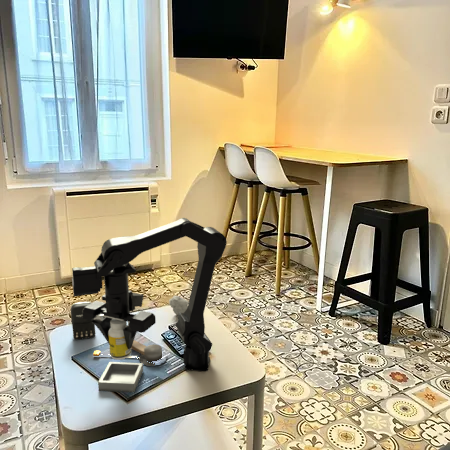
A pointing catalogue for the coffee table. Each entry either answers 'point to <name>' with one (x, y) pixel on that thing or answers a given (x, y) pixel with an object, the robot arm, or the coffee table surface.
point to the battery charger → (81, 322)
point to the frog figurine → (178, 304)
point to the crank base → (132, 357)
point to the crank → (148, 350)
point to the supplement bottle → (118, 340)
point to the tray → (120, 377)
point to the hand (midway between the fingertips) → (120, 345)
